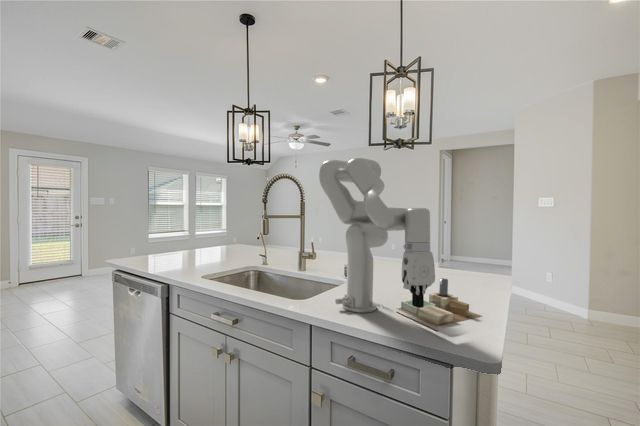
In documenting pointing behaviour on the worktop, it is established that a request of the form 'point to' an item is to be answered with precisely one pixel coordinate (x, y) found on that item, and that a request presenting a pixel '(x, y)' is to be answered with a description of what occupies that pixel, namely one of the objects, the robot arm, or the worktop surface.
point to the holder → (441, 300)
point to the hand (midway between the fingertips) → (417, 306)
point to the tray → (412, 309)
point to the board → (456, 307)
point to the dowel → (443, 287)
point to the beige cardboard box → (435, 315)
